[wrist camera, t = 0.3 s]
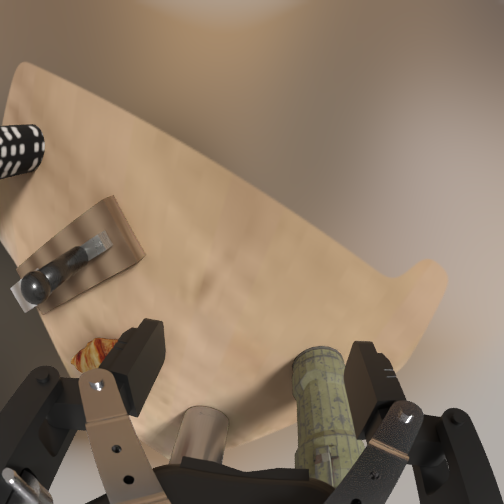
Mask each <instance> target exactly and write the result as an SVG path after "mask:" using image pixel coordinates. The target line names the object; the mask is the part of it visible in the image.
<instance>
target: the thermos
mask: <svg viewBox="0 0 504 504" xmlns="http://www.w3.org/2000/svg"><path fill="white" fill-rule="evenodd" d="M292 367H293V375H292V391H293V396H294V398H295V399H296V401H297V423H298V449H297V451H296V453H295V469H309V477H312V478H316V479H319V480H321V481H324V482H326V483H328V484H330V485H332V486H333V487H334V488H337V486H338V485H339V484H340V482H341V481H342V480H343V478H344V477H345V476H346V474H347V473H348V472H349V470H350V469H351V468H352V466H353V465H354V463H355V462H356V461H357V459H358V458H359V456H360V455H361V453H362V452H363V450H364V449H365V447H364V443H363V442H362V440H356V435H355V430H354V426H353V421H352V416H351V412H350V407H349V403H348V398H347V394H346V389H345V385H344V369H345V364H344V360H343V358H342V356H341V354H340V353H339V352H338V351H337V350H335V349H333V348H331V347H325V346H318V347H312V348H309V349H307V350H305V351H303V352H302V353H300V354H299V355H298V356H297V358H296V359H295V360H294V363H293V366H292Z"/></svg>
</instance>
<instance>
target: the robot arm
mask: <svg viewBox="0 0 504 504" xmlns="http://www.w3.org/2000/svg"><path fill="white" fill-rule="evenodd" d="M165 352H166V350H165V338H164V326H163V322H162V321H158V320H152V319H147V318H145V319H144V320H143V321H142V322H141V324H140V325H139V327H138V328H133V327H132V328H130V329H129V330H127V331H126V332H124V333H123V334H122V335H121V337H120V338H119V339H118V342H116V343H115V345H114V346H113V348H112V349H111V350H110V352H109V353H108V354H107V356H106V357H105V359H104V360H103V361H102V363H101V364H100V366H99V367H98V368H96V369H91V370H88V371H86V372H84V373H83V374H82V375H81V376H80V378H62V377H60V375H59V372H58V371H57V370H56V369H55V368H54V367H51V366H40V367H38V368H35V369H34V370H32V371H31V373H30V374H29V375H28V376H27V377H26V379H25V380H24V381H23V383H22V384H21V385H20V386H19V388H18V389H17V390H16V392H15V393H14V394H13V396H12V397H11V399H10V400H9V401H8V403H7V404H6V405H5V407H4V408H3V409H2V411H1V412H0V504H53V499H52V497H51V494H50V493H49V492H48V491H49V488H50V486H51V484H52V482H53V480H54V477H55V475H56V473H57V471H58V469H59V466H60V465H61V462H62V460H63V458H64V456H65V454H66V452H67V450H68V448H69V446H70V444H71V442H72V440H73V438H74V436H75V433H76V432H77V430H86V431H87V434H88V438H89V441H90V445H91V449H92V452H93V455H94V459H95V462H96V465H97V468H98V471H99V474H100V477H101V480H102V483H103V486H104V488H105V491H106V494H104V495H102V496H100V497H98V498H96V499H94V500H92V501H90V502H88V503H85V504H385V502H386V501H387V499H388V497H389V495H390V494H391V492H392V490H393V489H394V487H395V485H396V483H397V481H398V479H399V478H400V475H401V474H402V472H403V470H404V468H405V466H406V464H410V465H412V467H413V471H414V476H415V480H416V485H417V490H418V494H419V500H420V504H504V503H503V501H502V497H501V494H500V491H499V488H498V485H497V482H496V479H495V477H494V474H493V471H492V468H491V466H490V463H489V461H488V458H487V456H486V453H485V451H484V448H483V446H482V443H481V441H480V439H479V437H478V434H477V432H476V430H475V427H474V425H473V423H472V421H471V419H470V417H469V416H468V414H467V413H466V412H464V411H463V410H461V409H458V408H450V409H447V410H446V411H445V412H444V413H443V415H442V416H441V417H436V416H430V415H425V414H423V412H422V409H421V408H420V407H419V406H418V405H416V404H415V403H413V402H410V401H407V400H406V398H405V395H404V393H403V390H402V388H401V386H400V383H399V381H398V379H397V378H396V374H395V372H394V371H393V367H392V365H391V363H390V361H389V360H388V359H387V358H386V357H385V356H384V355H383V354H382V353H377V351H376V349H375V347H374V344H373V343H372V342H370V341H354V343H353V345H352V348H351V351H350V354H349V357H348V360H347V363H346V366H345V369H344V385H345V389H346V394H347V398H348V403H349V407H350V412H351V416H352V421H353V426H354V430H355V435H356V440H364V439H366V442H367V446H366V448H365V449H364V450H363V452H362V453H361V455H360V456H359V458H358V459H357V461H356V462H355V463H354V465H353V466H352V468H351V469H350V470H349V472H348V473H347V474H346V476H345V477H344V478H343V480H342V481H341V482H340V484H339V485H338V486H337V488H334V487H333V486H332V485H330V484H328V483H326V482H324V481H321V480H319V479H316V478H312V477H309V469H291V468H275V469H268V470H260V471H252V472H242V471H240V470H236V469H234V468H230V467H228V466H225V465H222V460H223V455H224V449H225V443H226V438H227V432H228V427H229V421H228V419H227V417H226V416H225V415H224V414H223V413H221V412H220V411H218V410H216V409H213V408H210V407H204V406H196V407H192V408H189V409H188V410H187V411H186V412H185V415H184V418H183V421H182V424H181V427H180V430H179V433H178V436H177V439H176V442H175V445H174V448H173V452H172V455H171V458H170V461H169V464H168V465H163V466H159V467H156V468H153V469H152V468H151V466H150V463H149V461H148V459H147V457H146V455H145V453H144V450H143V448H142V446H141V444H140V442H139V439H138V437H137V435H136V432H135V430H134V427H133V425H132V422H131V420H130V418H129V415H131V416H134V417H138V416H139V414H140V412H141V410H142V407H143V405H144V403H145V401H146V399H147V397H148V395H149V393H150V390H151V388H152V386H153V384H154V382H155V380H156V378H157V376H158V374H159V371H160V369H161V367H162V365H163V363H164V360H165ZM446 460H447V461H446ZM447 464H448V465H447ZM448 467H449V468H448Z"/></svg>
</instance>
